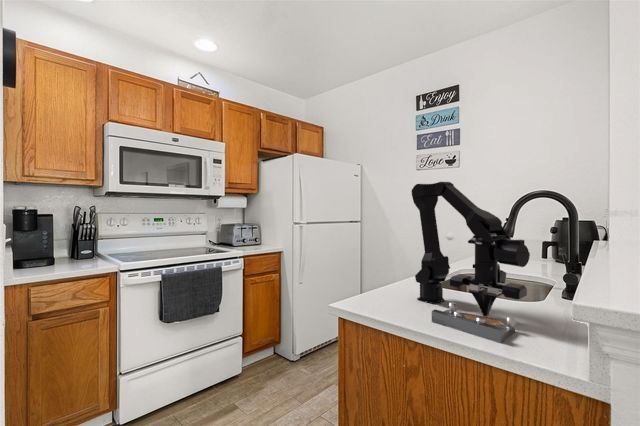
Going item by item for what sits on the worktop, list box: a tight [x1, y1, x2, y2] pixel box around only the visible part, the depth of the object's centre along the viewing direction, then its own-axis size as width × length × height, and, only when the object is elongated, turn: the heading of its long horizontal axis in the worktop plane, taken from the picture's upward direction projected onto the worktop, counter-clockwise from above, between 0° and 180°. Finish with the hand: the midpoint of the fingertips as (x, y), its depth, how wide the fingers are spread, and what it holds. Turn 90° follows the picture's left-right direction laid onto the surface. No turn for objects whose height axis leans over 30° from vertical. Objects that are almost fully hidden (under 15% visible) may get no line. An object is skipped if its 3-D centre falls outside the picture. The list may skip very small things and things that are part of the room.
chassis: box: [431, 301, 516, 344], centre depth 86 cm, size 18×10×4 cm, turn 39°
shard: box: [462, 312, 505, 327], centre depth 89 cm, size 11×8×2 cm
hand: (485, 315), depth 91 cm, fingers closed
